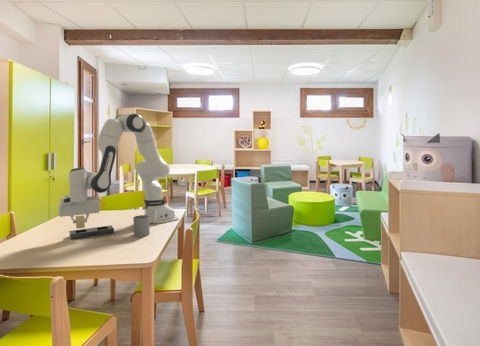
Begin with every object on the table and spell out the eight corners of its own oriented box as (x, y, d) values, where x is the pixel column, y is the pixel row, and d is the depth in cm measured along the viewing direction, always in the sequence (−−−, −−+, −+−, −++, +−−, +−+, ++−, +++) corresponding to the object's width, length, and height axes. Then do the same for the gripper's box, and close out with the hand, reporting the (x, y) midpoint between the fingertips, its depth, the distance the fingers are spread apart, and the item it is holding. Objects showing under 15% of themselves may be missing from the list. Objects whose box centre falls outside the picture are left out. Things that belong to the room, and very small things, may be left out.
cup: (151, 232, 194) (150, 215, 193) (147, 236, 186) (147, 218, 185) (136, 232, 194) (135, 215, 193) (132, 236, 185) (131, 218, 184)
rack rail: (111, 230, 199) (111, 225, 198) (114, 233, 192) (113, 228, 191) (69, 236, 188) (69, 230, 187) (70, 240, 181) (70, 234, 180)
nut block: (84, 225, 189) (83, 215, 188) (84, 227, 185) (84, 216, 185) (76, 226, 187) (75, 216, 186) (76, 228, 183) (76, 217, 183)
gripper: (98, 195, 192) (99, 218, 194) (57, 198, 182) (59, 223, 183) (100, 196, 187) (101, 221, 188) (58, 200, 177) (59, 226, 178)
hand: (80, 222), depth 186 cm, fingers closed on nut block, 4 cm apart
